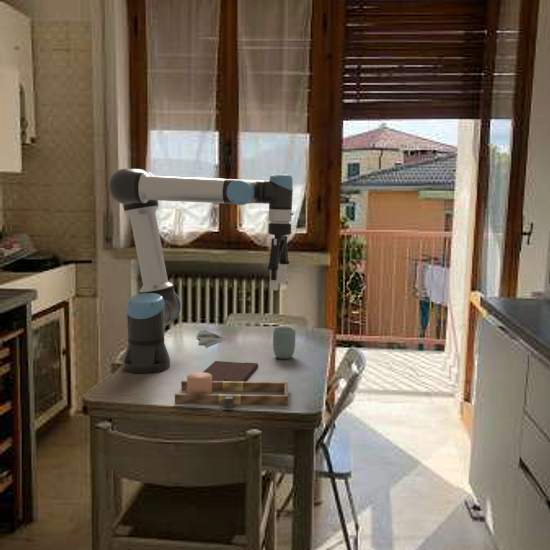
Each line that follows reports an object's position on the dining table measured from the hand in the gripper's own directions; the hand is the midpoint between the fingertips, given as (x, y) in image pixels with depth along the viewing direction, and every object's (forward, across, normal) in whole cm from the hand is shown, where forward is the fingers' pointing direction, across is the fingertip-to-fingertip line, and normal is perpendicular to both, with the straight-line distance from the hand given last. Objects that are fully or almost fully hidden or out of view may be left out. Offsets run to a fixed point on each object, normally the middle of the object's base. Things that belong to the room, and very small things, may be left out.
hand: (278, 286), depth 201 cm
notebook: (+27, -17, +12) cm, 34 cm away
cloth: (+28, +24, +32) cm, 49 cm away
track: (+26, -37, +5) cm, 45 cm away
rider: (+26, -38, +14) cm, 48 cm away
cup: (+26, +6, -2) cm, 27 cm away
